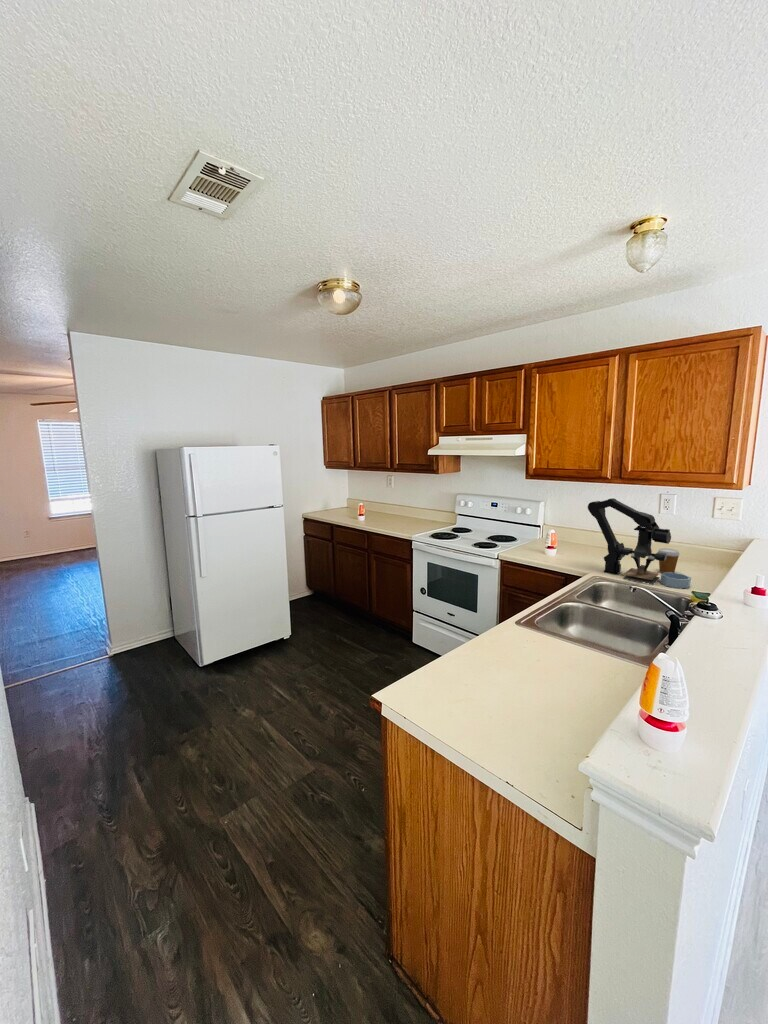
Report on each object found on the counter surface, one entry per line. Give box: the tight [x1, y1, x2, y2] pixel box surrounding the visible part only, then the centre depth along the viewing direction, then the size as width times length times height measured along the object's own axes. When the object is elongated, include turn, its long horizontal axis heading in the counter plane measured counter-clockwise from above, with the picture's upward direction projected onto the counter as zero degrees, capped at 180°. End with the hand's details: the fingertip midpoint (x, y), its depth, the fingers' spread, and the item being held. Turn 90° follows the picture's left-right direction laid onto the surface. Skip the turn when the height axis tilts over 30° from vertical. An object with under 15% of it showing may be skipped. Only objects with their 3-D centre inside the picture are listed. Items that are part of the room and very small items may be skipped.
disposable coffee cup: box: [657, 548, 681, 574], centre depth 216 cm, size 10×10×12 cm
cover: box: [624, 564, 660, 580], centre depth 207 cm, size 12×12×4 cm
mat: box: [622, 575, 661, 585], centre depth 208 cm, size 13×13×1 cm
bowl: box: [659, 572, 692, 589], centre depth 198 cm, size 11×11×4 cm
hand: (641, 570), depth 207 cm, fingers closed on cover, 2 cm apart
